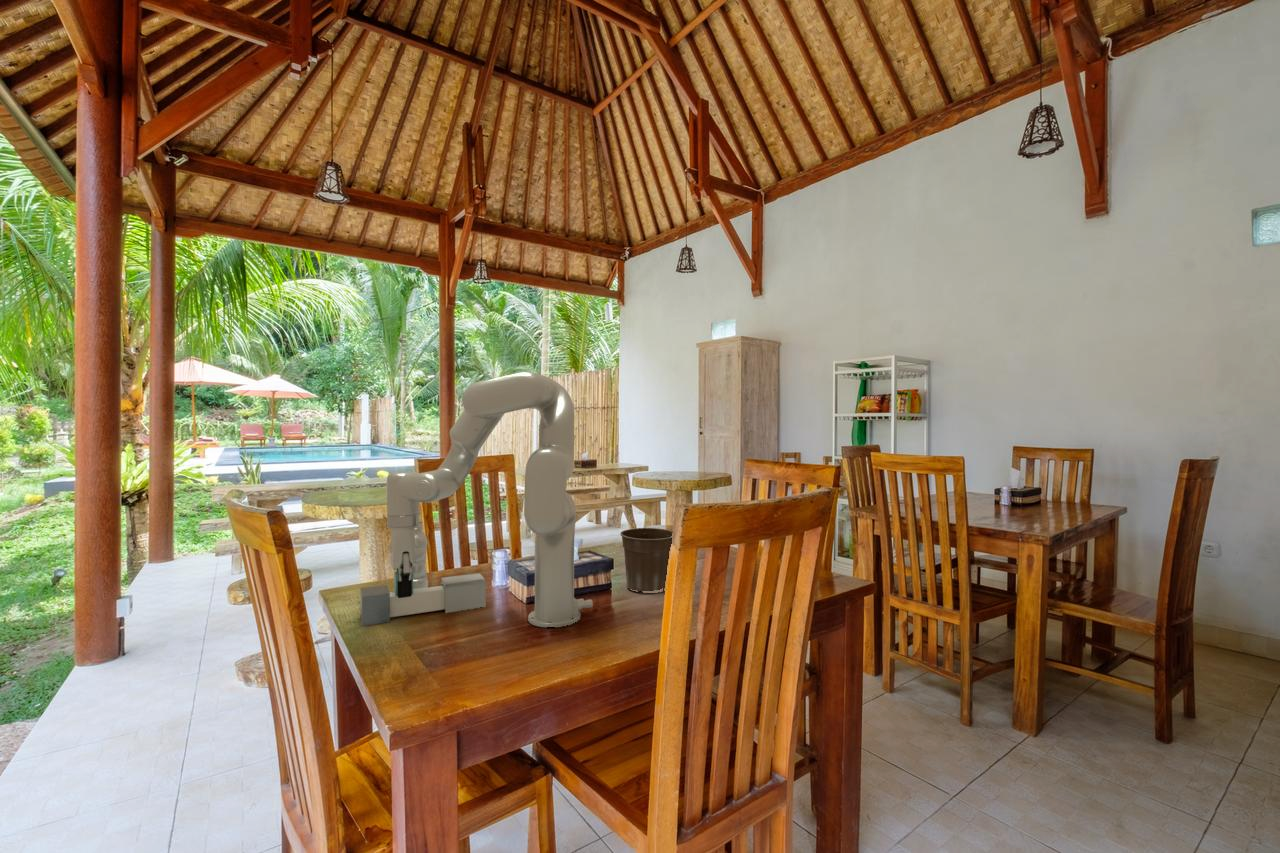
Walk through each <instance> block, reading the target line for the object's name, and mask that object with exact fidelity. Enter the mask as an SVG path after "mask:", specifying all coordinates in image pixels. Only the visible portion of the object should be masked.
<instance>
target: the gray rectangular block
mask: <svg viewBox="0 0 1280 853" xmlns="http://www.w3.org/2000/svg"><path fill="white" fill-rule="evenodd" d="M440 586H444V587H445V609H444V613H445V614H449V613H454V612H456V613H457V612H462V610H463V611H469V610H473V609H475V608H476V609H481V608H480V607H483V608H486V606H487V605H486V604H487V600H486V599H487V595H486V594H487V592H486V591H487V588H486V587H487V579H486V578H485V577H484V576H483V574H481V573H480V572H478V573H471V574H468V573H467V574H461V575H453V576H446V577H445V576H443V577H440ZM468 609H469V610H468ZM476 609H475V610H476Z"/></svg>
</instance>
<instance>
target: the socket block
mask: <svg viewBox="0 0 1280 853" xmlns="http://www.w3.org/2000/svg"><path fill="white" fill-rule="evenodd" d="M390 592H391V591H390V590H389V587H388V585H387V584H382V585H375V586H366V587H360V592H359V593H360V621H361V626H362V627H367V626H372V625H373V624H374V625H380V623H381V624H386V623H385V622H387V623H390V622H391V620H390V619H391V617H390ZM374 625H373V626H374Z"/></svg>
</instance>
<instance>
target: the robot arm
mask: <svg viewBox="0 0 1280 853" xmlns="http://www.w3.org/2000/svg"><path fill="white" fill-rule="evenodd" d="M461 400H462V406H463V408H464V410H463V411H462V413H461V414H460V415H459V417H458V418H457V419H456V421H455V422H454V424H453V426H452V427H451V428H450V430H449V434H448V435H449V438H450V441H451V444H450V448H449V451H448V453H447V455H446V457H445V459H443V461H442V463H440V465H439V466H438V468H437V469H435V470H430V471H426V472H425V471H424V472H420V473H418V472H416V471H410V470H407V471H406V470H405V471H404V470H403V471H402V470H401V471H393V472H390V473H389V474H388V475H387V477H386V529H388V530H390V549H389V550H390V551H389V552H390V554H389V558H390V559H389V562H390V567H391V569H392V570H394V571H395V572H399V581H398V598H404V597H411V596H412V580H411V568H413V567H414V563H415V528H417V527H419V526H420V522H421V521H420V520H421V519H420V509H421V508H420V507H421V506H420V503H424V504H425V503H426V504H428V503H434V502H438V501H440V500H443V499H446V498H448V497H451V496H453V495H454V494H455V493H456V492H457V491H458V490H459V488H460V487H461V486H462V484H463V483H464V481H465V480H466V478H467V477H468V476H469V474H470V473H471V471H472V469H473V467H474V465H475V463H476V460H477V458H478V456H479V453H480V451H481V449H482V447H483V446H484V444H485V443H486V441H487V440H488V438H489V437H490V436H491V434H492V433H493V431H494V430H495V428H496V427H497V425H498V424H499V423H500V421H501V420H502V418H503V416H505V414H507V413H511V412H515V411H520V410H527V409H530V410H531V409H532V410H537V411H539V415H540V419H539V426H538V448H537V449H536V450H534V451H533V452H532V453H531V454H530V456H529V458H527V462H526V466H525V473H524V498H523V499H524V502H523V507H524V508H523V513H524V520H525V523H526V526H527V527H528V528H529V530H530V531H531V532H532V533H534V534H535V535H534V536H535V537H534V610H533V611H531V612H530V613H529V614H528V617H527V620H528V622H529V623H530V624H531V625H533V626H535V627H539V628H547V627H555V628H562V627H563V626H564V627H567V625H568V626H571V625H573V623H574V624H576V623H577V622H579V621H580V620H581V612H580V611H581V610H582V609H589V608H593V605H594V602H593V600H592V599H590V598H589V599H585V598H578V599H577V598H575V534H576V533H575V532H576V520H577V519H576V518H577V507H576V503H575V500H574V498H573V497H572V496H571V494H570V493H568V492H567V481H568V480H569V479H570V478H571V476H572V475H573V473H574V468H575V409H574V403H573V401H572V400H573V399H572V397H571V395H570V394H569V392H568V391H567V389H566V388H565V387H564V386H562V385H561V384H560V383H559V382H558V381H556V380H554V379H552V378H550V377H549V376H546V375H543V374H540V373H536V372H531V371H521V372H514V373H511V374H507V375H501V376H498V377H494V378H489V379H485V380H480V381H476V382H473V383H472V384H470V385H469V386H468V387H466V389H465V391H463V395H462V398H461ZM401 571H403V572H402V574H401ZM584 599H585V600H584ZM578 620H579V621H578ZM575 622H576V623H575Z"/></svg>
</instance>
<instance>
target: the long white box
mask: <svg viewBox="0 0 1280 853" xmlns="http://www.w3.org/2000/svg"><path fill="white" fill-rule="evenodd" d="M402 572H403V571H401V574H402ZM393 575H394V577H393V591H389V592H390V618H395V617H403V616H409V615H415V614H421V613H428V612H435V611H436V612H437V611H442V610H445V587H444V586H441V585H438V586H437V585H436V586H431V587H429V586H428V588H420V589H413V572H412V571H411V580H412V596H411V597H404V598H398V581H399V572H396V571H394V572H393Z"/></svg>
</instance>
